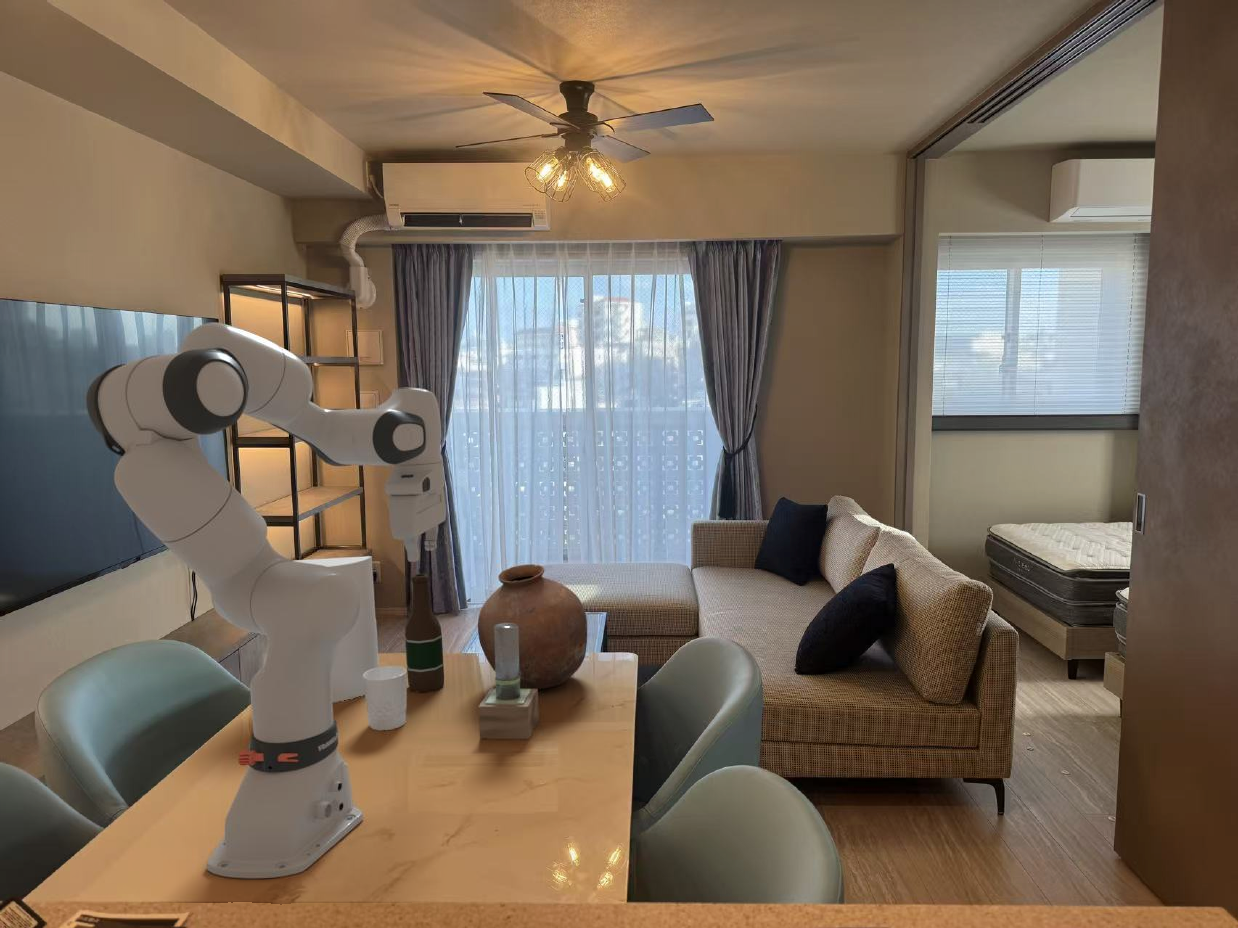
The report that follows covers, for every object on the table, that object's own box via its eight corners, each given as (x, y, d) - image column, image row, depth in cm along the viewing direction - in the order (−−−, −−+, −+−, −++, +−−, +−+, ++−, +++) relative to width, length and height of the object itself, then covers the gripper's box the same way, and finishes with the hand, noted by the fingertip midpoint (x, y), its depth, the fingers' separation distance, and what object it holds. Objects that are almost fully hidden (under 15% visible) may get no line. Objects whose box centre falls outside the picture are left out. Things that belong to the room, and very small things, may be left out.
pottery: (597, 666, 194) (593, 555, 192) (577, 704, 172) (572, 580, 169) (498, 664, 198) (493, 555, 195) (465, 702, 175) (459, 579, 172)
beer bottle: (440, 692, 181) (434, 578, 179) (403, 693, 181) (396, 579, 179) (448, 679, 189) (442, 570, 186) (412, 680, 189) (406, 571, 186)
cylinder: (373, 699, 178) (364, 564, 175) (285, 706, 176) (275, 569, 173) (385, 671, 195) (377, 548, 193) (305, 677, 193) (296, 552, 191)
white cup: (415, 715, 169) (412, 665, 168) (400, 732, 161) (397, 679, 160) (375, 715, 170) (372, 665, 168) (359, 732, 162) (356, 679, 161)
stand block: (529, 739, 156) (527, 705, 155) (480, 738, 157) (478, 704, 156) (538, 719, 165) (537, 687, 164) (492, 719, 166) (490, 686, 165)
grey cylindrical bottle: (518, 700, 158) (516, 629, 157) (493, 699, 158) (491, 629, 157) (522, 691, 162) (521, 622, 161) (498, 691, 163) (496, 622, 162)
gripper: (420, 472, 166) (424, 544, 168) (380, 486, 146) (385, 567, 147) (452, 472, 166) (456, 543, 167) (417, 485, 145) (421, 567, 147)
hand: (422, 555), depth 157 cm, fingers open, 8 cm apart
